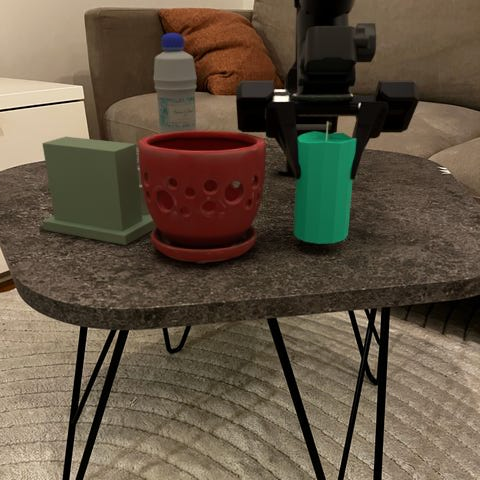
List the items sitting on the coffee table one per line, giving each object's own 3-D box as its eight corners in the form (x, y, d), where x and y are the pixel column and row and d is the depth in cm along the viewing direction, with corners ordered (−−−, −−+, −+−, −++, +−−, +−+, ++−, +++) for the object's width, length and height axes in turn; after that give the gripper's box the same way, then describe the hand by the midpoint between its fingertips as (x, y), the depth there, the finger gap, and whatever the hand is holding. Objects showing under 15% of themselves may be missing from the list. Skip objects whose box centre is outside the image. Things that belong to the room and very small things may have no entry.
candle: (346, 245, 62) (356, 128, 56) (290, 241, 63) (294, 126, 58) (349, 225, 67) (358, 116, 62) (296, 222, 69) (301, 115, 63)
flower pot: (278, 264, 62) (281, 148, 56) (151, 276, 59) (141, 155, 53) (249, 224, 73) (250, 123, 67) (142, 232, 70) (133, 128, 65)
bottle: (168, 173, 94) (159, 34, 85) (153, 164, 100) (143, 32, 90) (206, 168, 97) (202, 32, 87) (190, 159, 102) (184, 31, 93)
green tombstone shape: (130, 191, 86) (123, 118, 81) (202, 201, 81) (200, 124, 76) (43, 230, 71) (29, 144, 66) (126, 245, 67) (116, 154, 62)
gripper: (235, -8, 58) (231, 132, 53) (428, -9, 57) (439, 132, 53) (239, 70, 68) (236, 191, 64) (402, 69, 68) (409, 192, 64)
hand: (325, 177), depth 61 cm, fingers closed on candle, 5 cm apart
